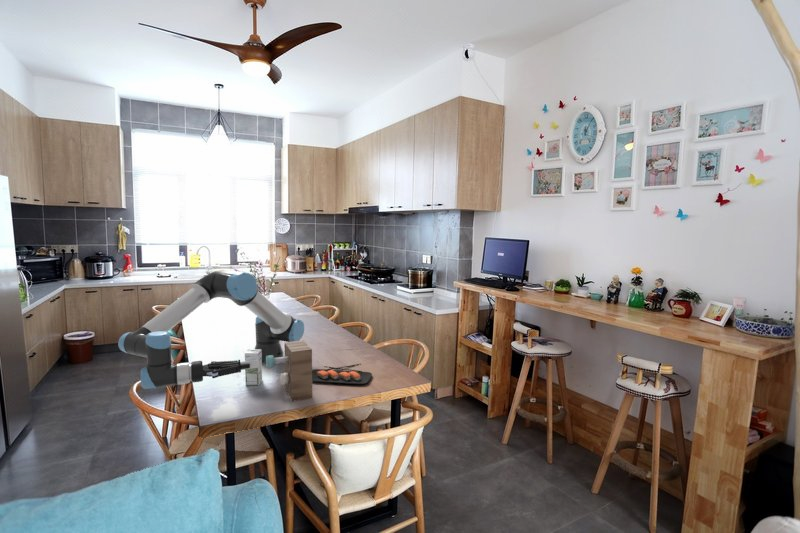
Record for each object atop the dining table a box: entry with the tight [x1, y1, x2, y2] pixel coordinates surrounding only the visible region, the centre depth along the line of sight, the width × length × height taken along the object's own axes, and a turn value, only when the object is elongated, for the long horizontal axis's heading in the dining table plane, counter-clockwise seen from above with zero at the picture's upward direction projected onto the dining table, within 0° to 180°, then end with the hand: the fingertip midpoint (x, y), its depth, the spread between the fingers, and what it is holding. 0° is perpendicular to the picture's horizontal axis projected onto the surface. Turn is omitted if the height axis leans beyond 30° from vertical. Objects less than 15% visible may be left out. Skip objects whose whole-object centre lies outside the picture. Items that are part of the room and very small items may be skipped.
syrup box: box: [244, 348, 263, 386], centre depth 180 cm, size 6×6×14 cm
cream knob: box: [280, 372, 289, 386], centre depth 169 cm, size 5×10×5 cm, turn 116°
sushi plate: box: [312, 363, 373, 385], centre depth 195 cm, size 29×30×4 cm
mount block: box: [283, 340, 313, 402], centre depth 169 cm, size 14×8×20 cm, turn 26°
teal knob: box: [265, 355, 289, 368], centre depth 166 cm, size 5×10×5 cm, turn 116°
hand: (258, 363), depth 162 cm, fingers closed
